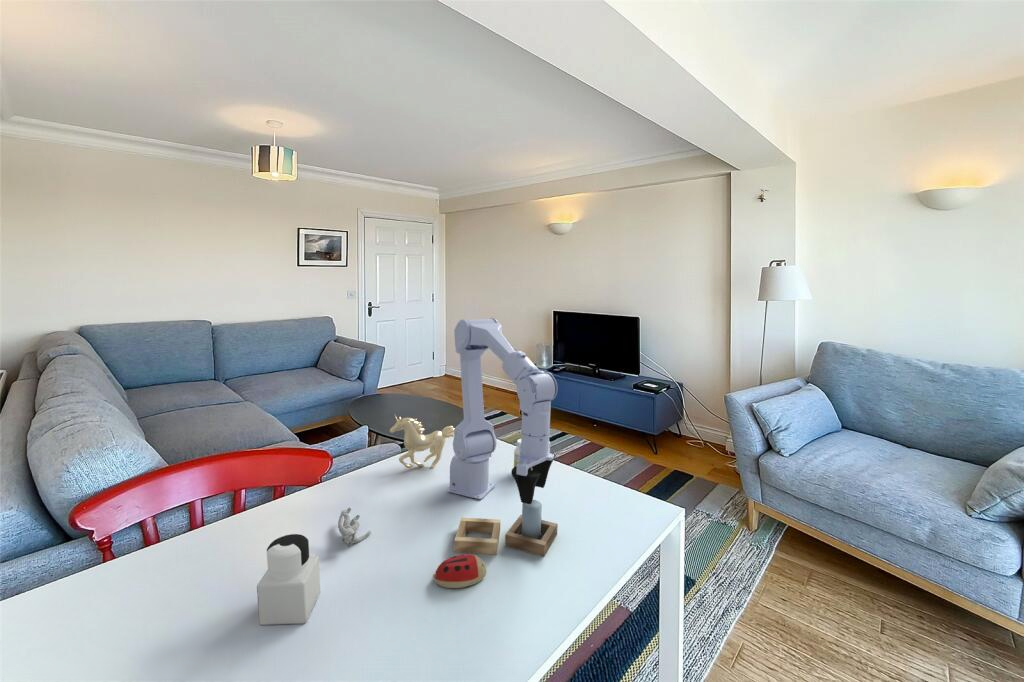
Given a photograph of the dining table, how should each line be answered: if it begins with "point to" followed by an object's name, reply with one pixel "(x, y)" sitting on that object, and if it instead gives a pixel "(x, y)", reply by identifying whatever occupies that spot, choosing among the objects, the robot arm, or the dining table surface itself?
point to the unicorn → (421, 440)
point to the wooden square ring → (531, 544)
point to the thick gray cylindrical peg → (531, 519)
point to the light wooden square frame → (477, 544)
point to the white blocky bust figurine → (288, 582)
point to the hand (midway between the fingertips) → (533, 494)
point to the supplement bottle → (517, 453)
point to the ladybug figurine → (460, 571)
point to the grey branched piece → (349, 528)
